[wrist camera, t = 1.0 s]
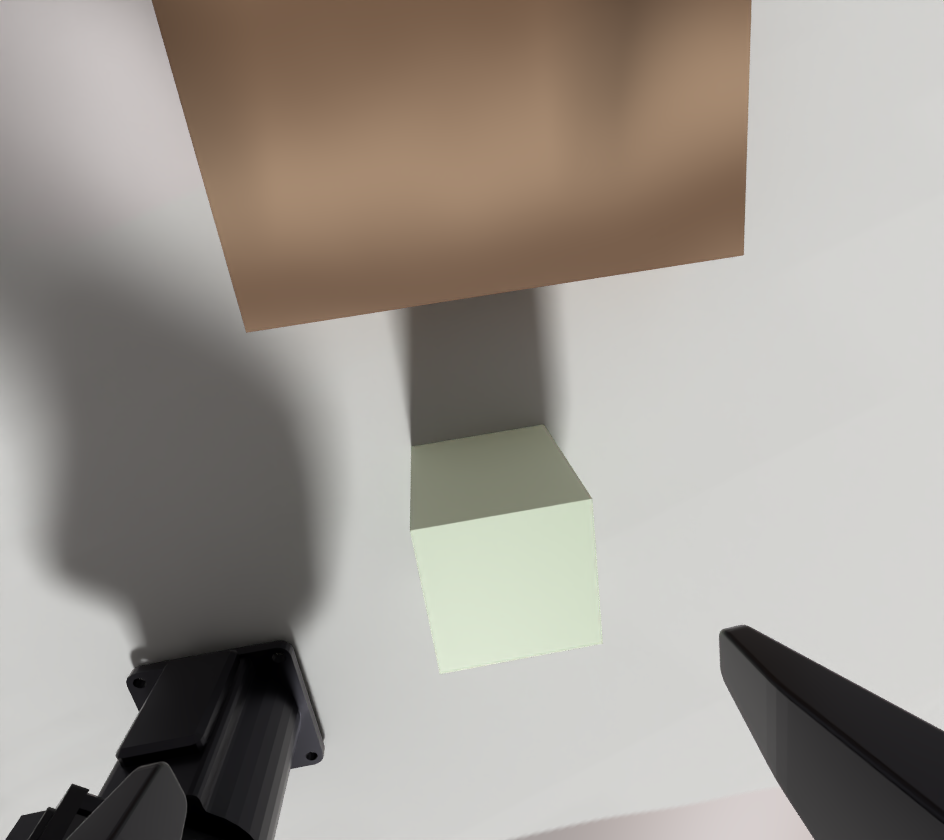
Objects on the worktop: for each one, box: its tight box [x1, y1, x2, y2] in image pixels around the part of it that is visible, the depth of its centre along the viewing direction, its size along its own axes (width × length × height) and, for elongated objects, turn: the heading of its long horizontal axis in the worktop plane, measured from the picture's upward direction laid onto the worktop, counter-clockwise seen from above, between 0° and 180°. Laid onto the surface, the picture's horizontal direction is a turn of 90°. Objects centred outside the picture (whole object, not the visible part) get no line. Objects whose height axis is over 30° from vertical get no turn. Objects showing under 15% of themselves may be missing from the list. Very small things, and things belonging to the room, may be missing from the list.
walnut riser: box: [152, 0, 751, 333], centre depth 15 cm, size 14×14×4 cm
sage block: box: [410, 424, 603, 674], centre depth 18 cm, size 5×5×6 cm
